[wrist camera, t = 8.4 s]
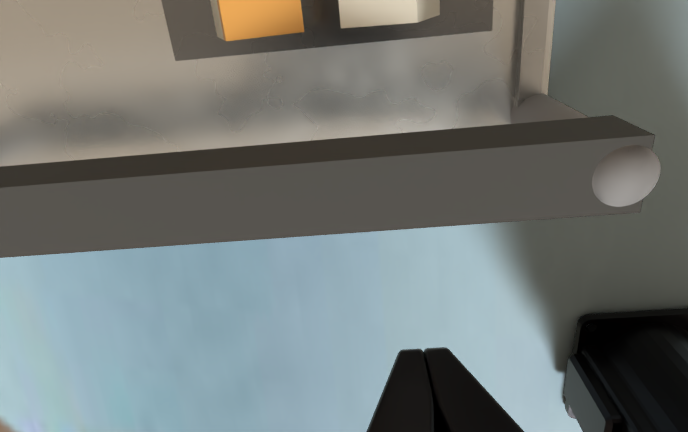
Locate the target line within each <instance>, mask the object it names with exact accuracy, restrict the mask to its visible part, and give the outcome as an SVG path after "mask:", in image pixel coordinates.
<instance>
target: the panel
mask: <svg viewBox="0 0 688 432" xmlns="http://www.w3.org/2000/svg"><path fill="white" fill-rule="evenodd" d="M555 3H556V0H440V15H438V16H435V17H432V18H429V19H426V20H424V21H421V22H418V23H406V24H393V25H380V26H367V27H353V28H341V25H340V13H339V2H338V0H301V8H302V16H303V25H304V32H300V33H292V34H284V35H275V36H267V37H259V38H250V39H242V40H233V41H225V40H223V39H221V38H219V37H217V33H216V28H215V23H214V17H213V12H212V7H211V2H210V0H0V167H1V166H13V165H25V164H37V163H49V162H61V161H73V160H85V159H97V158H109V157H121V156H133V155H145V154H157V153H169V152H181V151H193V150H205V149H217V148H229V147H241V146H253V145H265V144H276V143H288V142H300V141H312V140H324V139H336V138H348V137H360V136H372V135H384V134H396V133H408V132H420V131H432V130H444V129H456V128H468V127H480V126H492V125H504V124H512V123H511V110H512V107H513V105H515V106H516V107H519V106H520V104H521V103H522V102H523V101H524V100H526V99H527V98H529V97H531V96H534V95H539V94H542V93H544V94H546V95H547V94H548V83H549V71H550V60H551V49H552V37H553V26H554V15H555Z"/></svg>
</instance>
